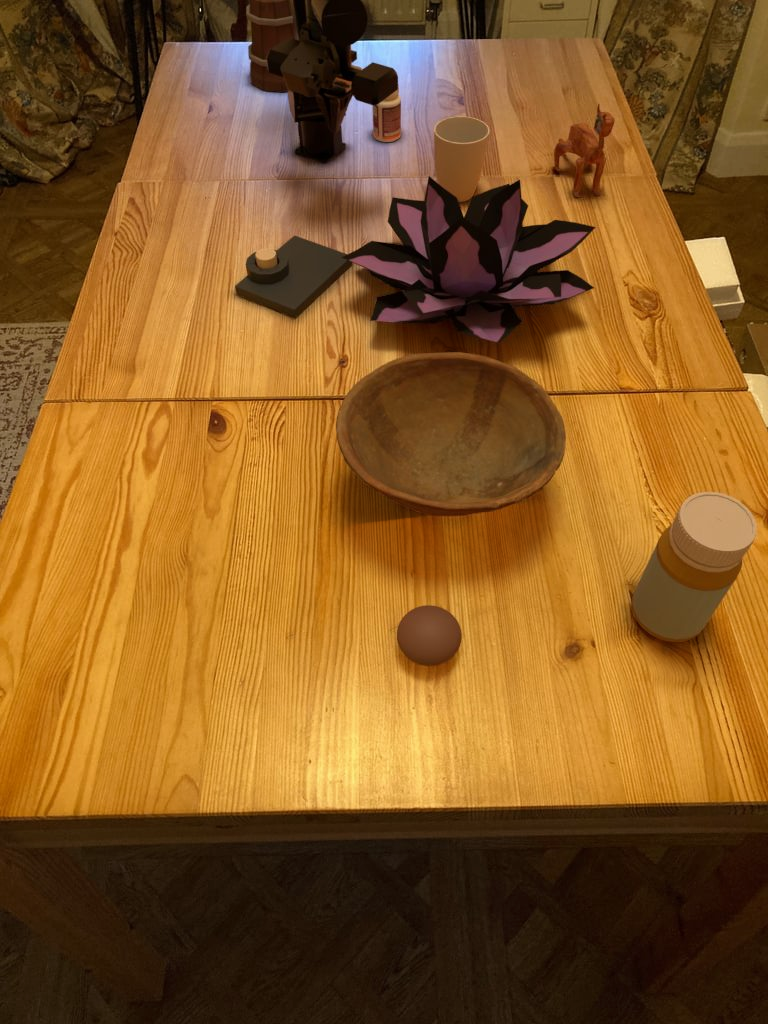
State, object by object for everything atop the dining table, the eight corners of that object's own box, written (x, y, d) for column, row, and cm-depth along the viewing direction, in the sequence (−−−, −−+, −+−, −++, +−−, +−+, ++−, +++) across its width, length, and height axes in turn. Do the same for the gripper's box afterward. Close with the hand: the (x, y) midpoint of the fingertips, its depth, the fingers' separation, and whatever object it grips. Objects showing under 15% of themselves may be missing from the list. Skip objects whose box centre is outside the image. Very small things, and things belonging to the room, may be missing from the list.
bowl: (493, 606, 75) (505, 548, 67) (303, 509, 82) (293, 447, 75) (582, 462, 86) (601, 398, 78) (407, 389, 94) (409, 323, 86)
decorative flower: (333, 368, 96) (317, 260, 85) (367, 236, 117) (358, 135, 106) (596, 373, 92) (615, 261, 81) (583, 236, 113) (597, 131, 102)
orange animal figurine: (539, 148, 129) (553, 60, 118) (577, 144, 129) (594, 57, 118) (571, 206, 118) (589, 115, 107) (612, 202, 118) (635, 111, 107)
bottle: (621, 585, 76) (662, 490, 64) (689, 579, 77) (744, 484, 65) (641, 648, 72) (689, 559, 60) (713, 642, 72) (776, 552, 60)
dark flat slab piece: (231, 292, 106) (227, 274, 103) (290, 241, 113) (288, 223, 110) (295, 318, 102) (293, 299, 100) (352, 264, 109) (351, 245, 107)
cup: (483, 180, 123) (489, 117, 115) (482, 208, 118) (489, 144, 110) (432, 178, 123) (435, 115, 115) (429, 206, 118) (432, 142, 110)
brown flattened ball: (452, 614, 75) (455, 592, 71) (466, 669, 71) (469, 648, 68) (391, 622, 74) (391, 601, 71) (402, 678, 70) (402, 658, 67)
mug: (251, 94, 141) (239, 2, 130) (251, 66, 149) (238, -24, 137) (336, 89, 142) (331, -3, 130) (331, 61, 150) (326, -29, 138)
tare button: (252, 265, 105) (251, 255, 104) (265, 255, 106) (263, 245, 105) (269, 272, 104) (267, 262, 103) (281, 261, 105) (280, 251, 104)
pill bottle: (405, 132, 132) (405, 81, 126) (393, 145, 130) (393, 93, 123) (380, 127, 134) (379, 75, 127) (368, 139, 131) (367, 88, 124)
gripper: (233, 19, 99) (250, 138, 112) (352, 54, 93) (356, 175, 106) (285, -10, 105) (296, 106, 117) (400, 21, 99) (399, 140, 111)
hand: (334, 131), depth 113 cm, fingers closed
